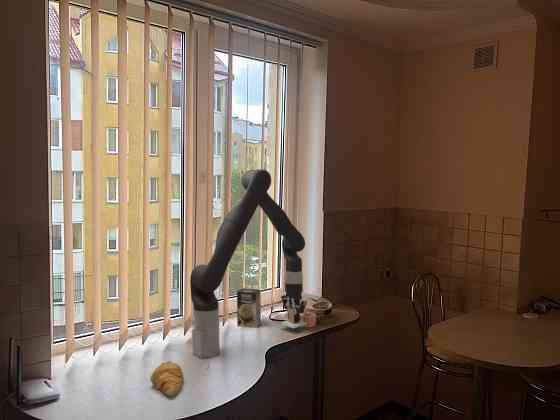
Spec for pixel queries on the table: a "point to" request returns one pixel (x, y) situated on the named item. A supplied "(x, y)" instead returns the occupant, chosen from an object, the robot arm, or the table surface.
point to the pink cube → (308, 319)
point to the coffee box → (248, 308)
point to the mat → (294, 330)
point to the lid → (292, 320)
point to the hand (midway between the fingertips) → (293, 321)
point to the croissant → (168, 378)
